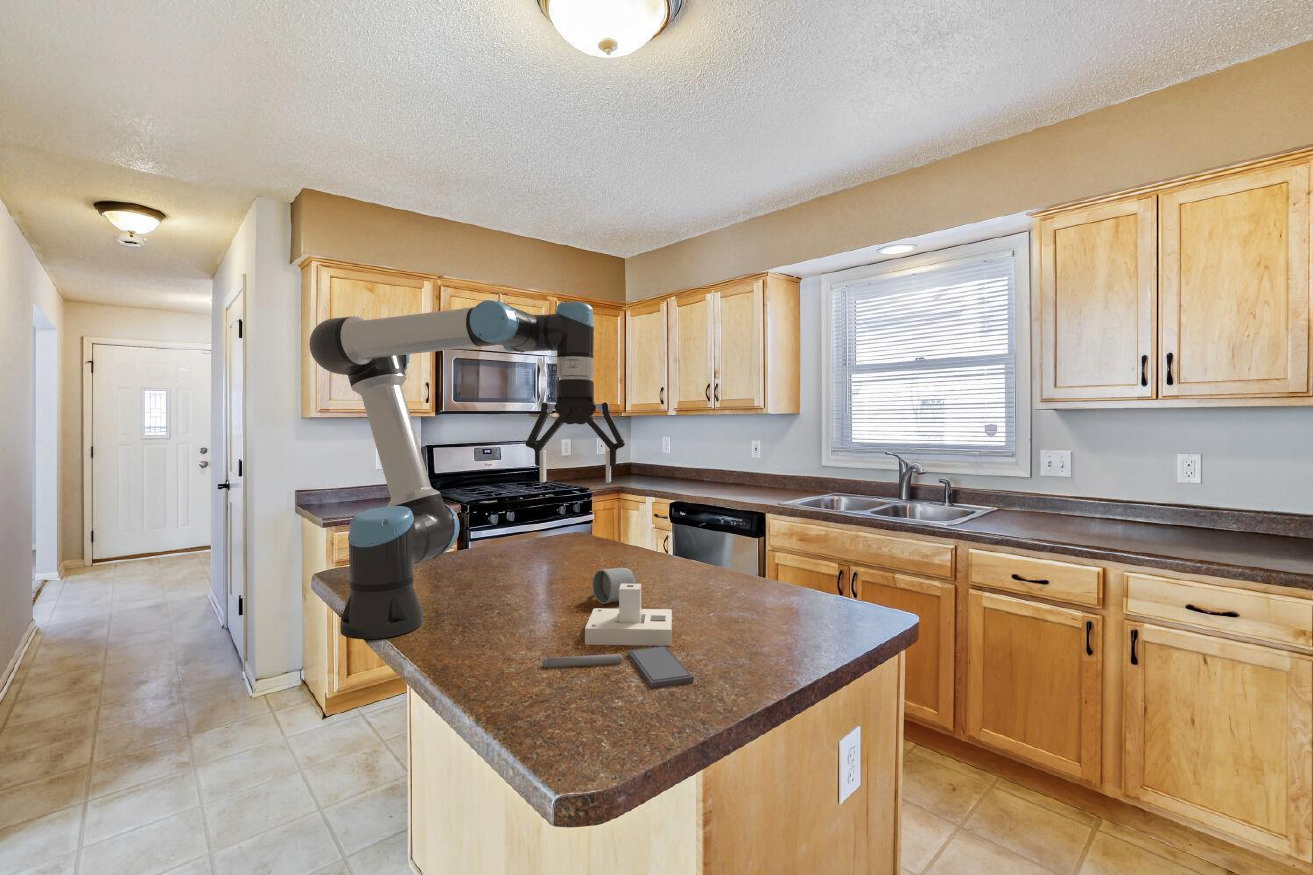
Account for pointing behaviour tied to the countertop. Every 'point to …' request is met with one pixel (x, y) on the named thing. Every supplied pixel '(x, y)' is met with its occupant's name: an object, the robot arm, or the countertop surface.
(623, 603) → the charger block
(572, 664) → the grey rod
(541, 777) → the countertop surface
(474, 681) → the countertop surface
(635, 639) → the outlet plate
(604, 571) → the ceramic mug
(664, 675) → the phone slab
